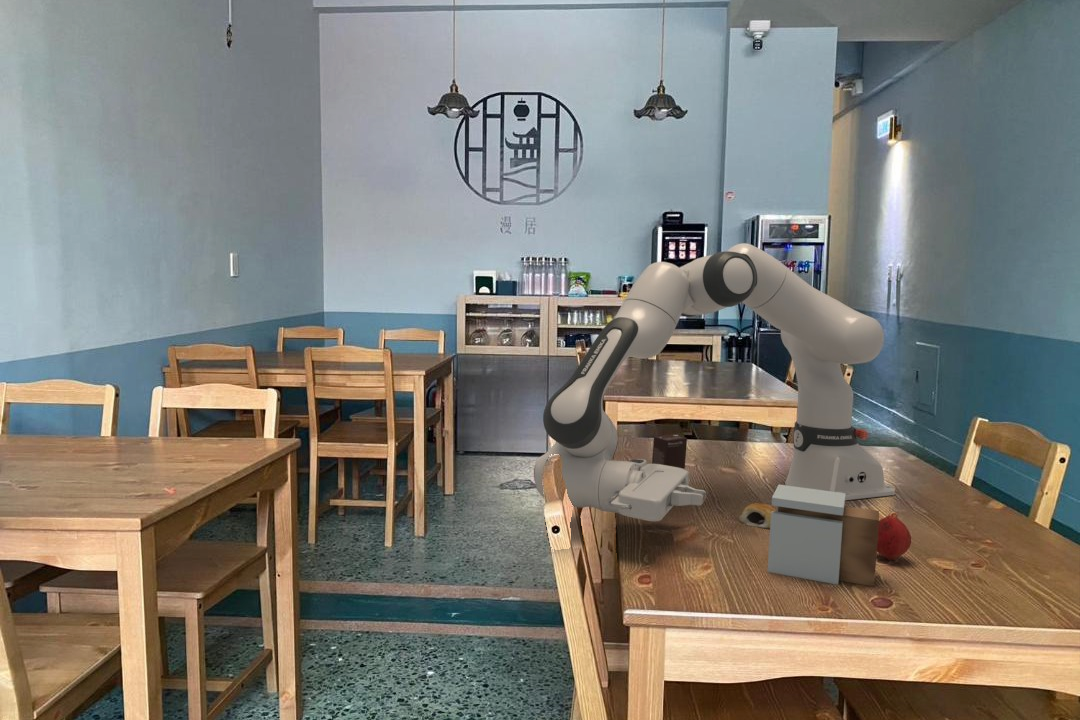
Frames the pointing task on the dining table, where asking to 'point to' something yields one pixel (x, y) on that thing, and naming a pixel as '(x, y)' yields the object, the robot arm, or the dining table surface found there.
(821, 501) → the grey slotted cube
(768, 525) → the pastry
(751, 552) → the dining table surface
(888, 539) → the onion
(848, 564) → the walnut block
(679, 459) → the box
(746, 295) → the robot arm
